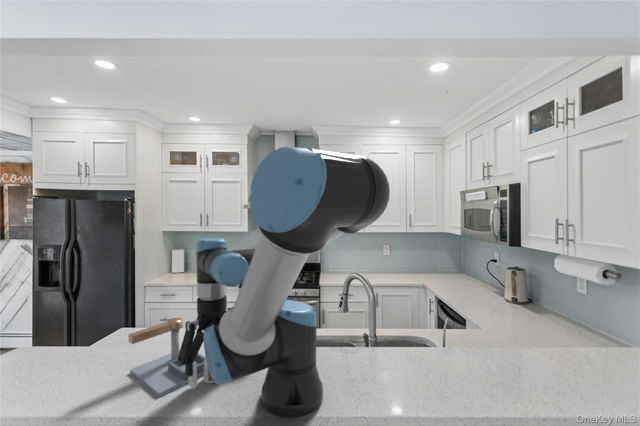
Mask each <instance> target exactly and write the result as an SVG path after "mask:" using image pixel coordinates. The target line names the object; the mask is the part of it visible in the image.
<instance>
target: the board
mask: <svg viewBox="0 0 640 426" xmlns="http://www.w3.org/2000/svg"><path fill="white" fill-rule="evenodd" d="M170 349H171V350H170V353H169V354H165V355H164V356H161V357H158V358H156V359H153V360H150V361H147V362H145V363H142V364H140V365H138V366H136V367H132V368H131V369H130V374H131V375H132V376H133V377H134V378H136V380H138V381H139V382H141V384H143V385H144V386H145V387H146V388H147V389H148V390H150V392H152V393H153V394H154V395H155V396H156V397H158V398H161V397H163V396H164V395H167V394H169V393H171V392H173V391H174V390H177V389H179V388H181V387H182V386H185V385H187V384H188V376H187V375H186V373H185V365H182V364H181V363H179V362H178V361H177V359H178V356H179V352H180V329H179V330H175V331H170ZM205 359H206V356H204V355H202V354H201V353H199V352H198V354H197V356H196V358H195V360H194V361H195V362H196V363H197V379H199V378H200V377H204V360H205Z"/></svg>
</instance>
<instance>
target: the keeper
mask: <svg viewBox="0 0 640 426" xmlns="http://www.w3.org/2000/svg"><path fill="white" fill-rule="evenodd" d="M182 328H183V318H182V317H174V318H170V319H168V320H167V321H165V322H163V323H159V324H156V325H154V326H150V327H147V328H144V329H140V330H138V331H133V332H130V333H128V342H129V343H130V344H131V345H134V344H137V343H139V342H144V341H146V340H148V339H151V338H154V337H157V336H161V335H163V334H166V333H169V332H170V333H171V331H175V330H179V331H180V330H181V329H182Z"/></svg>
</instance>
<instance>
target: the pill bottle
mask: <svg viewBox="0 0 640 426" xmlns="http://www.w3.org/2000/svg"><path fill="white" fill-rule="evenodd" d="M204 355H205V354H204ZM204 357H206V355H205V356H204ZM203 382H205V384H216V383H215V382H214V380H213V379H212V377H211V374H210V371H209V368H208V364H207V360H206V359H205V360H204V375H203Z"/></svg>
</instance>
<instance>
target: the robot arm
mask: <svg viewBox="0 0 640 426" xmlns="http://www.w3.org/2000/svg"><path fill="white" fill-rule="evenodd" d="M250 192H251V196H250V197H249V204H250V205H249V206H250V212H251V215H252V217H253V220H254V221H255V223H256V225H257V230H259V233H260V236H259V239H258V241H257V244H256V247H255V248H246V249H245V248H244V249H237V250H236V249H235V250H228V246H227V240H226V239H225V238H222V237H209V238H208V237H207V238H200V239H199V240H197V243H196V252H195V255H196V256H195V257H196V296H197V297H198V298H197V299H196V312H197V316H196V317H197V318H196V320H193V321H189V320H188V321H186V322H185V332H184V335H183V339H182V343H181V346H180V348H179V350H180V352H179V356H178V359H177V361H178V362H179V363H181V364H182V365H185V373H186V375H187V376H188V383H187V384H188V386H189V387H191V388H192V389H193V390H195V389H196V388H198V378H197V363H196V362H195V361H194V360H195V358H196V356H197V354H198V353H199V352H200V349H201V347H202V345H203V349H204V355H206V356H205V357H206V360H207V364H208V368H209V371H210V374H211V377H212V379H213V380H214V382H215V383H214V384H217V385H218V386H219V385H221V386H222V385H225V384H228V383H234V382H235V381H236V380H237V381H238V380H239V379H242V378H245V377H247V376H250V375H252V374H255V373H257V372H260V371H263V370H264V371H265V370H266V369H267V371H266V375H265V377H264V382H263V384H262V387H261V403H262V405H263V407H264V408H265V410H266V411H267V412H269V413H271V414H273V415H275V416H278V417H281V418H297V417H303V416H305V415H308V414H310V413H312V412H314V411H315V410H317V409H318V407H319V406H320V405H321V403H322V402H323V398H324V388H323V387H324V386H323V382H322V380H321V379H320V375H319V371H318V367H317V328H318V327H317V326H318V323H317V322H318V321H317V312H316V310H315V308H314V307H313V306H311V305H310V304H308V303H306V302H302V301H296V300H290V299H289V300H288V296H289V295H290V293H291V291H292V289H293V287H294V285H295V283H296V281H297V280H298V277H299V275H300V273H301V271H302V269H303V267H304V266H305V263H306V261H307V259H308V257H309V256H310V255H314V254H317V253H318V252H320V251H321V250H322V249H323V248H324V247H325V245H328V244H329V243H330V242H333V241H335V240H336V239H338V238H339V237H340V236H343V235H344V234H346V235H353V234H356V233H358V232H359V231H361V230H363V229H366V227H368V226H369V225H372V224H373V223H374V222H376V221H377V220H379V218H381V216H382V215H383V214H384V212H385V210H386V209H387V207H388V203H389V201H390V196H391V195H390V194H391V193H390V183H389V180H388V176H387V175H386V173H385V172H384V170H383V169H382V167H381V166H380V165H379V164H377V163H376V162H375V161H374V160H372V159H371V158H369V157H366V156H363V155H359V154H349V153H342V152H333V151H326V150H321V149H320V150H319V149H315V148H312V147H308V146H297V147H296V146H295V147H294V146H281V147H278V148H276V149H273V150H272V151H270V152H269V153H267V154H266V155H265V156H264V157H263V159H261V161H260V163H259V164H258V165H257V167H256V169H255V171H254V174H253V177H252V180H251V185H250ZM240 284H241V287H240V288H239V289H240V290H239V291H238V295H237V296H236V300H235V302H234V305H233V306H232V307H227V306H228V299H227V293H228V292H227V291H228V290H227V289H228V287H237V286H239V285H240ZM197 327H198V328H197ZM195 334H196V335H195Z"/></svg>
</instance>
